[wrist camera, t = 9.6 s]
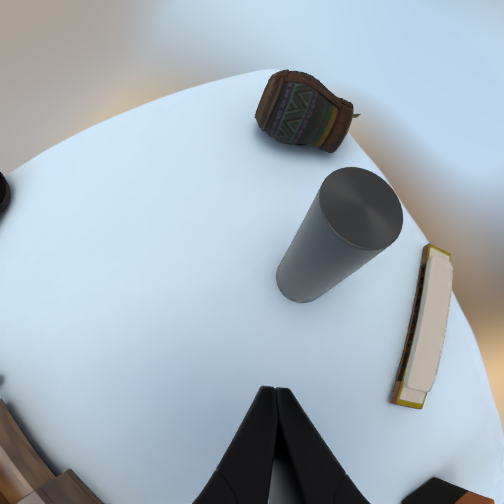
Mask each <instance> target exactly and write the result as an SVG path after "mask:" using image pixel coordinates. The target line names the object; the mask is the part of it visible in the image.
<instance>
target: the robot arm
mask: <svg viewBox="0 0 504 504" xmlns="http://www.w3.org/2000/svg"><path fill="white" fill-rule="evenodd" d="M345 474H346V472H345V471H344V469H343V468H342V466H341V465H340V463H339V462H338V461H337V459H336V458H335V456H334V455H333V453H332V452H331V450H330V449H329V447H328V446H327V445H326V443H325V442H324V440H323V439H322V437H321V436H320V434H319V433H318V431H317V430H316V428H315V427H314V425H313V424H312V422H311V421H310V419H309V418H308V416H307V415H306V413H305V412H304V410H303V409H302V407H301V405H300V404H299V402H298V401H297V399H296V398H295V396H294V395H293V393H292V392H291V390H290V389H289V388H281V387H276V388H274V387H271V386H261V387H260V389H259V391H258V393H257V395H256V397H255V398H254V400H253V402H252V404H251V406H250V408H249V410H248V412H247V414H246V416H245V418H244V419H243V421H242V423H241V425H240V427H239V429H238V431H237V432H236V434H235V436H234V438H233V440H232V442H231V443H230V445H229V447H228V449H227V450H226V452H225V454H224V456H223V458H222V459H221V461H220V463H219V464H218V466H217V468H216V470H215V471H214V473H213V474H212V476H211V478H210V479H209V481H208V483H207V484H206V486H205V487H204V489H203V490H202V492H201V493H200V494H199V496H198V497H197V498H196V499H195V501H194V502H193V503H192V504H268V497H269V504H370V503H369V502H368V501H367V499H366V498H365V497H364V496H363V495H362V494H361V492H360V491H359V490H358V488H357V487H356V486H355V485H354V483H353V482H352V480H351V479H350V478H349V476H348V475H347V474H346V475H345Z"/></svg>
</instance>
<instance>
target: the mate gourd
mask: <svg viewBox="0 0 504 504" xmlns="http://www.w3.org/2000/svg"><path fill="white" fill-rule="evenodd" d="M359 115H360V114H353V104H352V103H351V102H348V101H346V100H343V99H342V98H338V97H336V96H335V95H334V94H332V93H331V92H330V91H329V90H328V89H327V88H326V87H325V86H324V85H323V84H322V83H321V82H320V81H319V80H317V79H316V78H314V77H313V76H311V75H309V74H307V73H304V72H298V71H289V70H283V71H279V72H277V73H275V74H273V75H272V76H271V77H270V79H269V80H268V83H267V85H266V87H265V90H264V92H263V94H262V97H261V100H260V102H259V105H258V108H257V111H256V114H255V118H256V120H257V122H258V124H259V126H260V128H261V129H262V130H263V131H266V132H267V133H268V134H269V135H270V136H272V137H274V138H275V139H276V140H278V141H280V142H283V143H287V144H292V145H299V146H301V145H308V144H311V145H315V146H317V147H318V148H319V149H321V150H324V151H326V152H328V153H333V152H334V151H335V150H336V149H337V148H338V147H339V146H340V145H341V143H342V141H343V140H344V138H345V136H346V134H347V132H348V130H349V127H350V124H351V121H352V118H356V117H358V116H359Z"/></svg>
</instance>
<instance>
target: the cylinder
mask: <svg viewBox="0 0 504 504" xmlns="http://www.w3.org/2000/svg"><path fill="white" fill-rule="evenodd" d="M402 225H403V213H402V208H401V204H400V202H399V199H398V197H397V195H396V194H395V192H394V191H393V189H392V188H391V187H390V186H389V185H388V184H387V183H386V182H385V181H384V180H383V179H382V178H381V177H379V176H378V175H376V174H374V173H372V172H370V171H368V170H365V169H362V168H357V167H346V168H341V169H338V170H336V171H334V172H332V173H331V174H330V175H328V176H327V177H326V179H325V180H324V182H323V183H322V185H321V187H320V189H319V191H318V193H317V195H316V197H315V199H314V201H313V203H312V205H311V207H310V209H309V210H308V212H307V214H306V216H305V218H304V220H303V222H302V224H301V226H300V228H299V230H298V231H297V233H296V235H295V237H294V239H293V241H292V243H291V245H290V247H289V248H288V250H287V252H286V254H285V256H284V258H283V260H282V261H281V263H280V265H279V267H278V270H277V275H276V279H277V284H278V287H279V289H280V291H281V292H282V294H283V295H284V296H285V297H287V298H288V299H289V300H291V301H294V302H297V303H307V302H311V301H313V300H315V299H316V298H318V297H319V296H321V295H322V294H324V293H325V292H327V291H328V290H329V289H331V288H332V287H334V286H335V285H337V284H338V283H339V282H341V281H342V280H344V279H345V278H346V277H348V276H349V275H351V274H352V273H353V272H355V271H356V270H358V269H359V268H360V267H362V266H363V265H364V264H366V263H367V262H368V261H370V260H371V259H372V258H374V257H375V256H377V255H378V254H379V253H380V252H382V251H383V250H384V249H386V248H387V247H388V246H390V245H391V244H392V243H393V242H394V241H395V240H396V239H397V238H398V236H399V234H400V232H401V229H402Z"/></svg>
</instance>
